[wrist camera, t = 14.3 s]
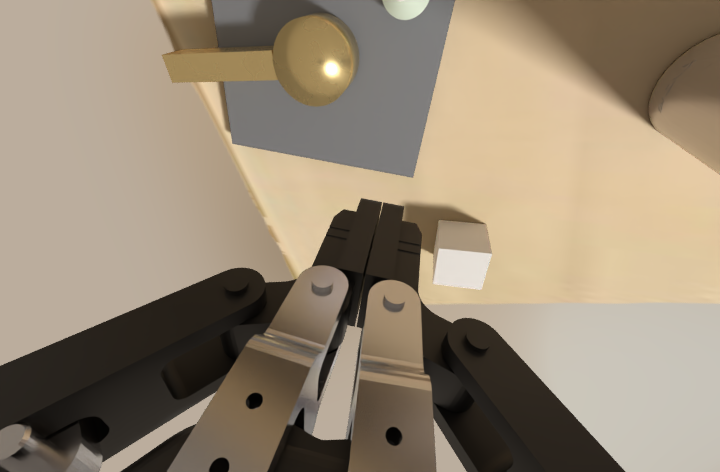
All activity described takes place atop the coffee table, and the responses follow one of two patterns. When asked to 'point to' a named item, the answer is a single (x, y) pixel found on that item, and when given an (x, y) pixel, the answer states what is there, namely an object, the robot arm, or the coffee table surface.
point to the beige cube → (461, 254)
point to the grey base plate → (362, 97)
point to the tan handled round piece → (281, 60)
